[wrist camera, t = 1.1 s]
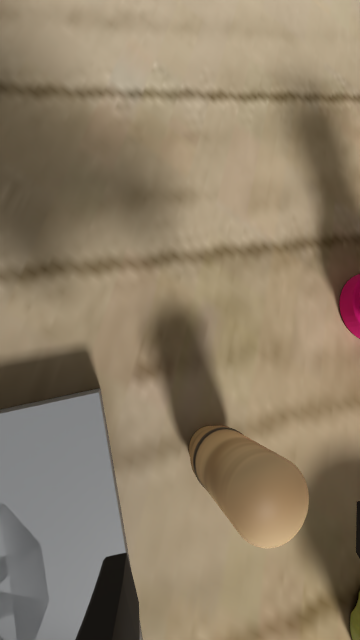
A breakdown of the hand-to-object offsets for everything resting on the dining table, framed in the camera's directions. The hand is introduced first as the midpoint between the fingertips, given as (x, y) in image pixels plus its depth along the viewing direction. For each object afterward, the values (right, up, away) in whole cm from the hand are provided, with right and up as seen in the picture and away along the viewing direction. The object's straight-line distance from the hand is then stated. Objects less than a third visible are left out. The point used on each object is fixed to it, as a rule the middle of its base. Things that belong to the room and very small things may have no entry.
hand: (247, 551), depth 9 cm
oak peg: (0, -2, +14) cm, 14 cm away
